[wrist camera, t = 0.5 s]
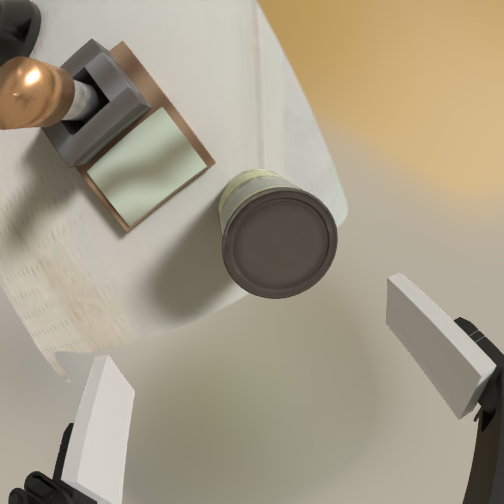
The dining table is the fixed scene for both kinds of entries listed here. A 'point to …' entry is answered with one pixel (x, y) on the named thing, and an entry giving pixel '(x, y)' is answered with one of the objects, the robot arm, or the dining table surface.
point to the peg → (44, 95)
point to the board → (128, 136)
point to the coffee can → (274, 235)
